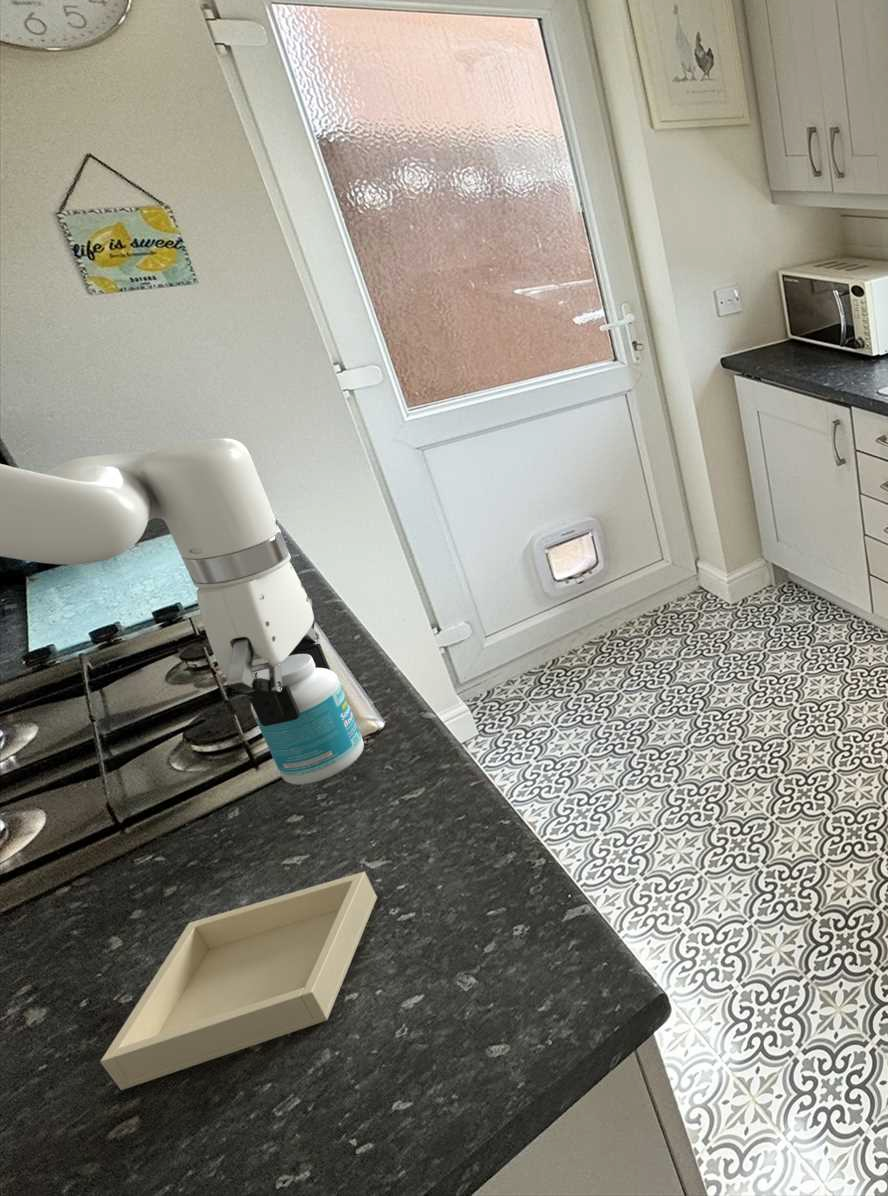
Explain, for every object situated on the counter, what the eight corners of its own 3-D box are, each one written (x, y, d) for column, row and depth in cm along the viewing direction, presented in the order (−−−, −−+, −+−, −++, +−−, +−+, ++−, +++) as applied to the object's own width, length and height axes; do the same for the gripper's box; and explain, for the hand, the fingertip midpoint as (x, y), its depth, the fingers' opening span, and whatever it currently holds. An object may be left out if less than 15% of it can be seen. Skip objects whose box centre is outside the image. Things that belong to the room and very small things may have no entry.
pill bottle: (377, 755, 91) (339, 658, 86) (298, 798, 85) (252, 696, 80) (350, 732, 94) (312, 638, 90) (273, 772, 89) (228, 673, 84)
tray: (120, 1090, 62) (99, 1061, 60) (205, 949, 73) (188, 922, 71) (327, 1020, 66) (311, 992, 65) (377, 897, 77) (365, 870, 76)
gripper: (235, 530, 87) (291, 662, 93) (140, 608, 71) (214, 760, 78) (317, 517, 89) (366, 647, 95) (242, 590, 74) (306, 739, 80)
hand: (298, 697), depth 86 cm, fingers closed on pill bottle, 7 cm apart
